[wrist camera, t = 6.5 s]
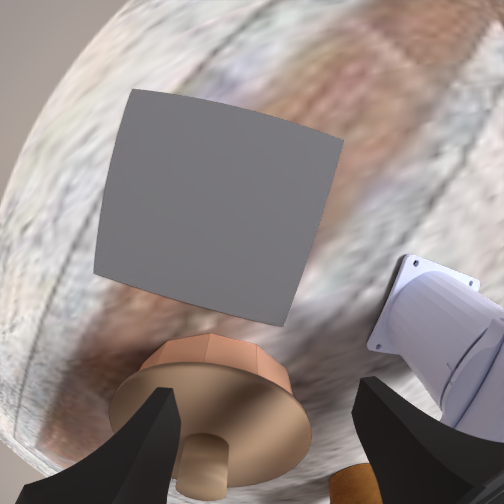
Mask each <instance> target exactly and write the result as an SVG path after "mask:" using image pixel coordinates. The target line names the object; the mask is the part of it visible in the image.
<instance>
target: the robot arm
mask: <svg viewBox="0 0 504 504" xmlns="http://www.w3.org/2000/svg"><path fill="white" fill-rule="evenodd" d="M415 260H416V264H415V265H413V262H414V261H415ZM469 282H470V283H469ZM479 287H480V281H479V280H477V279H475V278H472V277H470V276H468V275H465V274H463V273H460V272H457V271H455V270H452V269H450V268H447V267H445V266H442V265H439V264H437V263H434V262H432V261H429V260H426V259H424V258H421V257H418V256H415V255H413V254H407V255H406V256H405V257H404V259H403V262H402V265H401V267H400V270H399V272H398V275H397V277H396V280H395V282H394V285H393V287H392V290H391V292H390V294H389V297H388V299H387V301H386V304H385V306H384V308H383V310H382V313H381V315H380V317H379V319H378V321H377V323H376V326H375V328H374V330H373V332H372V334H371V336H370V338H369V340H368V342H367V348H368V349H369V350H370V351H375V352H382V353H389V354H397V355H401V356H402V357H403V359H404V360H405V361H406V363H407V364H408V365H409V367H410V368H411V369H412V371H413V372H414V373H415V375H416V376H417V377H418V379H419V380H420V382H421V383H422V384H423V386H424V387H425V388H426V390H427V391H428V393H429V394H430V395H431V397H432V398H433V400H434V401H435V402H436V404H437V405H438V407H439V408H440V409H441V411H442V413H443V414H442V418H441V420H440V421H437V420H436V419H434V418H432V417H431V416H429V415H427V414H426V413H424V412H423V411H421V410H419V409H418V408H417V407H415V406H414V405H412V404H411V403H409V402H408V401H407V400H405V399H404V398H403V397H401V396H400V395H399V394H397V393H396V392H395V391H394V390H392V389H391V388H390V387H388V386H387V385H386V384H385V383H383V382H382V381H381V380H379V379H378V378H377V377H375V376H372V377H366V378H361V380H360V384H359V388H358V391H357V395H356V398H355V402H354V405H353V409H352V412H351V414H352V417H353V421H354V425H355V429H356V432H357V435H358V437H359V439H360V442H361V444H362V446H363V449H364V451H365V453H366V456H367V458H368V460H369V463H370V465H371V467H372V469H373V472H374V474H375V477H376V480H377V483H378V487H379V491H380V495H381V499H382V503H383V504H504V309H503V308H502V307H500V306H499V305H497V304H495V303H494V302H492V301H491V300H489V299H488V298H486V297H485V296H483V295H481V294H480V293H478V289H479ZM378 344H380V345H379V346H377V345H378ZM376 346H377V347H376ZM180 431H181V419H180V415H179V411H178V407H177V403H176V399H175V395H174V391H173V388H166V387H157V388H156V389H155V390H154V391H153V392H152V394H151V395H150V396H149V397H148V398H147V400H146V401H145V402H144V403H143V404H142V406H141V407H140V408H139V409H138V410H137V411H136V413H135V414H134V415H133V416H132V417H131V418H130V419H129V420H128V421H127V422H126V423H125V425H124V426H123V427H122V428H120V429H119V430H118V431H117V432H116V433H115V434H114V435H113V436H112V437H111V438H110V439H109V440H108V441H107V442H105V443H104V444H103V445H102V446H101V447H99V448H98V449H97V450H95V451H94V452H93V453H91V454H90V455H88V456H87V457H86V458H84V459H83V460H81V461H79V462H78V463H76V464H75V465H73V466H71V467H69V468H67V469H65V470H63V471H61V472H59V473H57V474H55V475H53V476H50V477H48V478H45V479H42V480H39V481H36V482H33V483H30V484H26V485H24V487H23V489H22V491H21V493H20V495H19V497H18V499H17V501H16V503H15V504H166V503H167V494H168V489H169V484H170V480H171V476H172V471H173V467H174V463H175V459H176V455H177V451H178V446H179V440H180Z"/></svg>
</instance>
